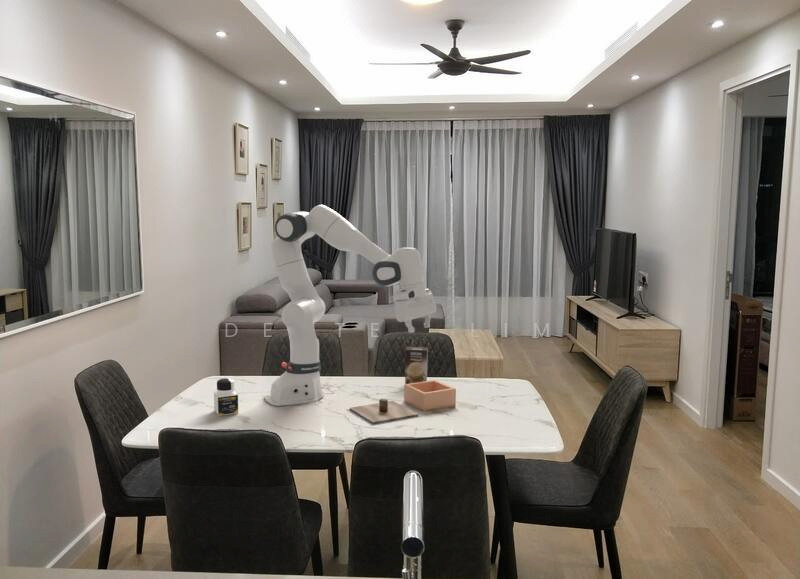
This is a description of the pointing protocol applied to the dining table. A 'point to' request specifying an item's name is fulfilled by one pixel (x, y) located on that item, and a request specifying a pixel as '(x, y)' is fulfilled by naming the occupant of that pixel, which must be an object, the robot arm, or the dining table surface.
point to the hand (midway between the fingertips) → (419, 329)
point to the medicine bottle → (225, 397)
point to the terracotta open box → (430, 395)
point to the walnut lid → (383, 412)
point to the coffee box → (416, 365)
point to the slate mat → (379, 423)
